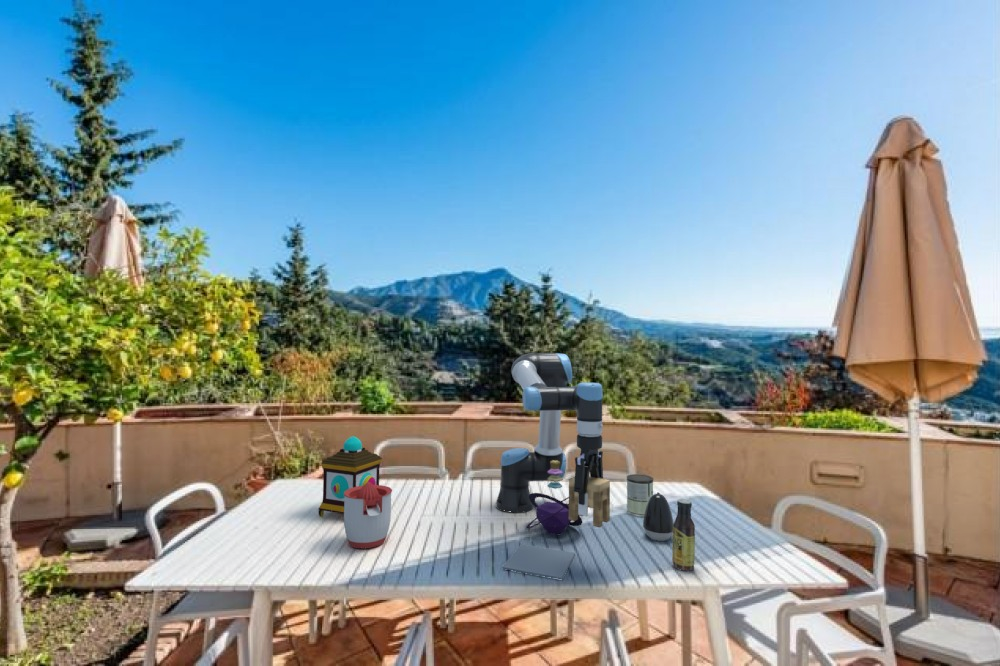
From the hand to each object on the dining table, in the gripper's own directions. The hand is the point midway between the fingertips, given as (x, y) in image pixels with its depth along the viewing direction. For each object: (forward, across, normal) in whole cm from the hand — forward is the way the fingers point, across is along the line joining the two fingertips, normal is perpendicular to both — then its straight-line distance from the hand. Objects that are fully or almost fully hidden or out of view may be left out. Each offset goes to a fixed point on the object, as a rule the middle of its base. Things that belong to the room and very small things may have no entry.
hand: (589, 511), depth 141 cm
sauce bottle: (+17, +18, -22) cm, 33 cm away
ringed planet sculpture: (+17, +18, +23) cm, 34 cm away
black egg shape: (+17, +36, -8) cm, 41 cm away
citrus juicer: (+17, -30, +66) cm, 74 cm away
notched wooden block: (+3, 0, 0) cm, 3 cm away
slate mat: (+17, -6, +13) cm, 22 cm away
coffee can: (+17, +58, +6) cm, 60 cm away
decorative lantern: (+17, -16, +95) cm, 98 cm away
